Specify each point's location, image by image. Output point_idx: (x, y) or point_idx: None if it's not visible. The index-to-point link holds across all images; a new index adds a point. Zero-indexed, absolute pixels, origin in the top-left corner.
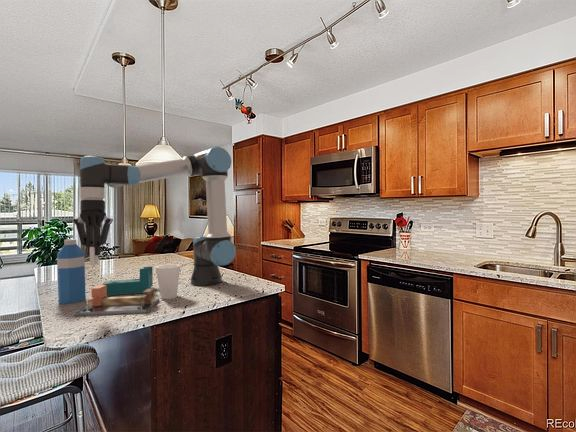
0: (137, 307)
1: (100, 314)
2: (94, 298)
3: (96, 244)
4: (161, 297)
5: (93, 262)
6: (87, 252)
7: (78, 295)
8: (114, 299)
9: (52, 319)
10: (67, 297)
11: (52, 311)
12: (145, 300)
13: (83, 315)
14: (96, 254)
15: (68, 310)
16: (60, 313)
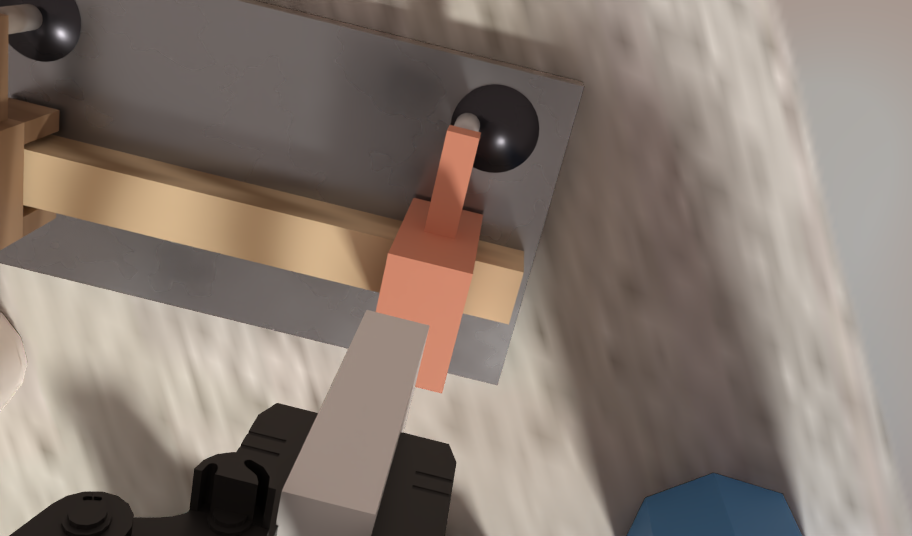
0: (86, 39)
1: (377, 31)
2: (437, 177)
3: (207, 525)
4: (6, 330)
5: (368, 330)
6: (449, 482)
7: (661, 528)
8: (294, 212)
9: (740, 54)
10: (739, 508)
11: (793, 294)
12: (21, 110)
13: (512, 64)
14: (295, 418)
15: (673, 273)
16: (716, 210)
